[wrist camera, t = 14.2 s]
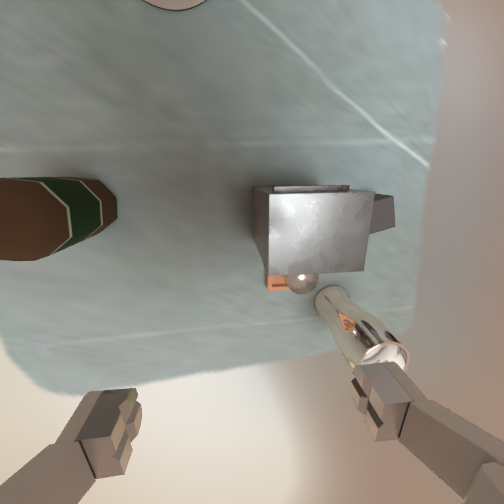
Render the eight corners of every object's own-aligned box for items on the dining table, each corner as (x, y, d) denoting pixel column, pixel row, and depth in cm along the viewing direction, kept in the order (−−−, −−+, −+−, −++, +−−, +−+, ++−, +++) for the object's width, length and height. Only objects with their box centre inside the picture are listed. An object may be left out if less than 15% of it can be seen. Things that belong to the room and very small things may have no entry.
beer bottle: (78, 238, 34) (-224, 365, 11) (49, 184, 31) (-417, 210, 9) (129, 223, 34) (-67, 320, 11) (104, 168, 31) (-214, 153, 9)
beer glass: (357, 296, 42) (423, 359, 28) (330, 323, 43) (380, 396, 29) (331, 275, 40) (387, 331, 26) (303, 304, 41) (343, 372, 27)
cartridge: (277, 252, 37) (286, 265, 31) (305, 250, 37) (320, 262, 31) (277, 278, 38) (286, 296, 32) (304, 276, 39) (318, 293, 33)
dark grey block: (253, 183, 34) (269, 188, 21) (319, 182, 35) (375, 186, 22) (254, 242, 37) (268, 280, 23) (315, 240, 38) (362, 275, 24)
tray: (266, 240, 37) (268, 243, 35) (315, 238, 37) (319, 241, 36) (266, 285, 39) (268, 290, 38) (312, 283, 40) (315, 288, 38)
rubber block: (344, 201, 36) (362, 205, 31) (371, 193, 36) (393, 196, 31) (348, 227, 38) (365, 235, 33) (374, 220, 38) (395, 226, 33)
